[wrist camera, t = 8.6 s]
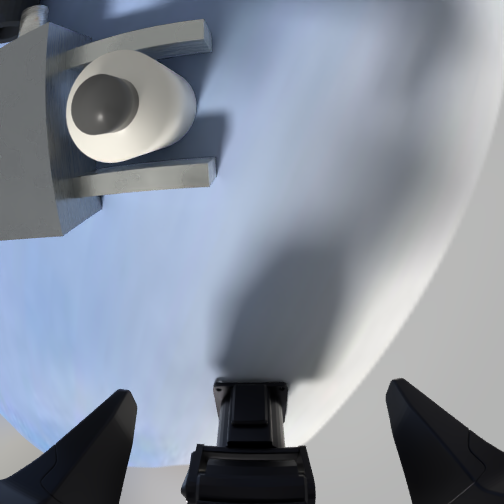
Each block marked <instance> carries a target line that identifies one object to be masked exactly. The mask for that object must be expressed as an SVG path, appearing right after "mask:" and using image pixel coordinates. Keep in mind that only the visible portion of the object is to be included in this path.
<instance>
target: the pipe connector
mask: <svg viewBox="0 0 504 504" xmlns="http://www.w3.org/2000/svg"><path fill="white" fill-rule="evenodd" d="M39 3H40V0H0V43H6V42H11V41H13V40H15V39H17V38H18V35H19V27H20V21H21V15H22V12H23V11H24V10H25V9H27V8H29V7H32V6H36V5H39Z"/></svg>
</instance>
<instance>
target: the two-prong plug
mask: <svg viewBox="0 0 504 504" xmlns="http://www.w3.org/2000/svg"><path fill="white" fill-rule="evenodd" d="M48 11H49V8H48V7H47V6H45V5H36V6H32V7H29V8H27V9H25V10H24V11H23V12H22V15H21V21H20V27H19V35H18V38H17V39H15V40H14V41H12V42H10V43H8V44H7V45H5V46H3V47H2V48H0V241H2V240H14V239H28V238H42V237H57V236H64V235H65V234H66V233H68V232H69V231H71V230H72V229H73V228H75V227H76V226H78V225H79V224H81V223H82V222H83V221H85V220H86V219H88V218H89V217H91V216H92V215H94V214H95V213H97V212H98V211H100V210H101V209H102V206H101V200H100V195H108V194H118V193H128V192H139V191H151V190H164V189H179V188H196V187H210V185H211V184H212V182H213V181H214V180H215V178H216V177H217V176H216V157H205V158H190V159H178V160H166V161H156V162H146V163H138V164H129V165H121V166H114V167H107V168H100V169H96V162H95V160H94V159H92V158H90V157H88V156H87V155H85V154H84V153H83V152H82V151H81V150H80V149H79V148H78V147H77V146H76V144H75V143H74V141H73V139H72V138H71V135H70V133H69V130H68V126H67V119H66V108H67V101H68V97H69V94H70V91H71V88H72V86H73V84H74V82H75V80H76V79H77V77H78V76H79V74H80V73H81V72H82V71H83V70H84V68H85V67H86V66H87V65H89V64H90V63H91V62H92V61H93V60H95V59H97V58H98V57H100V56H102V55H104V54H106V53H109V52H112V51H117V50H134V51H138V52H141V53H143V54H145V55H147V56H149V57H151V58H152V59H154V60H156V59H162V58H169V57H175V56H183V55H191V54H200V53H210V52H212V35H211V32H210V30H209V28H208V26H207V24H206V22H205V20H204V19H199V20H191V21H184V22H177V23H171V24H165V25H159V26H154V27H149V28H144V29H140V30H135V31H131V32H127V33H123V34H119V35H116V36H112V37H108V38H105V39H102V40H98V41H95V42H92V43H91V41H92V38H90V37H88V36H85V35H83V34H80V33H78V32H75V31H73V30H70V29H67V28H65V27H62V26H59V25H57V24H54V23H51V22H48V23H47V18H48Z"/></svg>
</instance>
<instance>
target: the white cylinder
mask: <svg viewBox="0 0 504 504" xmlns="http://www.w3.org/2000/svg"><path fill="white" fill-rule="evenodd" d="M196 109H197V103H196V97H195V93H194V91H193V89H192V87H191V85H190V84H189V83H188V82H187V81H186V80H185V79H184V78H183V77H182V76H180V75H179V74H177V73H175V72H174V71H172V70H171V69H169V68H167V67H166V66H164V65H162V64H161V63H159V62H157V61H156V60H154V59H152V58H151V57H149V56H147V55H145V54H143V53H141V52H138V51H134V50H117V51H112V52H109V53H106V54H104V55H102V56H100V57H98V58H97V59H95V60H93V61H92V62H91V63H90V64H89V65H87V66H86V67H85V68H84V70H83V71H82V72H81V73H80V74H79V76H78V77H77V79H76V80H75V82H74V84H73V86H72V88H71V91H70V94H69V97H68V101H67V108H66V119H67V126H68V130H69V133H70V135H71V138H72V139H73V141H74V143H75V144H76V146H77V147H78V148H79V149H80V150H81V151H82V152H83V153H84V154H85V155H87V156H88V157H90V158H92V159H94V160H97V161H101V162H107V163H115V162H121V161H125V160H128V159H131V158H134V157H137V156H140V155H143V154H146V153H149V152H152V151H155V150H159V149H162V148H165V147H168V146H171V145H173V144H175V143H176V142H178V141H179V140H180V139H182V138H183V137H184V136H185V135H186V133H187V132H188V131H189V129H190V128H191V126H192V124H193V122H194V119H195V116H196Z"/></svg>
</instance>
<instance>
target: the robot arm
mask: <svg viewBox="0 0 504 504" xmlns="http://www.w3.org/2000/svg"><path fill="white" fill-rule="evenodd" d="M281 387H282V388H281ZM287 390H288V388H287V384H286V383H284V382H275V383H216V384H214V387H213V391H214V397H215V402H216V407H217V412H218V417H219V427H218V437H217V446H204V444H197V447H196V451H194V452H193V453H192V454H191V461H190V467H189V470H188V473H187V475H186V478H185V480H184V483H183V485H182V488H181V494H182V495H183V496H184V497H185V498H186V501H187V504H315V498H316V497H315V496H316V494H315V483H314V477H313V473H312V470H311V466H310V462H309V458H308V454H307V450H306V446H298V447H285V441H284V428H283V423H284V422H285V412H286V401H287ZM386 403H387V408H388V413H389V418H390V423H391V429H392V433H393V438H394V441H395V444H396V448H397V451H398V454H399V457H400V461H401V464H402V467H403V471H404V474H405V478H406V482H407V485H408V489H409V492H410V496H411V500H412V504H504V452H502V451H501V450H499V449H497V448H496V447H494V446H492V445H491V444H489V443H488V442H486V441H485V440H483V439H482V438H480V437H479V436H477V435H476V434H475V433H474V432H472V431H471V430H469V429H468V428H467V427H466V426H464V425H463V424H462V423H461V422H459V421H458V420H456V419H455V418H454V417H453V416H451V415H450V414H449V413H447V412H446V411H445V410H444V409H442V408H441V407H440V406H438V405H437V404H436V403H435V402H433V401H432V400H431V399H429V398H428V397H427V396H426V395H424V394H423V393H422V392H420V391H419V390H418V389H416V388H415V387H414V386H412V385H411V384H410V383H409V382H407V381H406V380H405V379H403V378H398V379H394V380H392V381H391V383H390V385H389V388H388V390H387V393H386ZM136 415H137V404H136V402H135V400H134V398H133V396H132V394H131V392H130V391H129V390H124V389H118V390H117V391H116V392H114V393H113V394H112V395H111V396H110V397H109V398H108V399H106V400H105V401H104V402H103V403H102V404H101V405H100V406H98V407H97V408H96V409H95V410H94V411H93V412H92V413H90V414H89V415H88V416H87V417H86V418H85V419H84V420H82V421H81V422H80V423H79V424H78V425H77V426H76V427H74V428H73V429H72V430H71V431H70V432H69V433H67V434H66V435H65V436H64V437H63V438H62V439H60V440H59V441H58V442H57V443H56V445H53V446H52V447H51V448H50V449H49V450H47V451H46V452H45V453H44V454H42V455H41V456H40V457H39V458H37V459H36V460H34V461H33V462H32V463H30V464H29V465H27V466H26V467H24V468H23V469H21V470H19V471H18V472H16V473H15V474H13V475H12V476H10V477H8V478H6V479H3V480H0V504H119V500H120V496H121V491H122V487H123V482H124V478H125V474H126V469H127V465H128V461H129V457H130V453H131V449H132V444H133V437H134V429H135V422H136Z"/></svg>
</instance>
